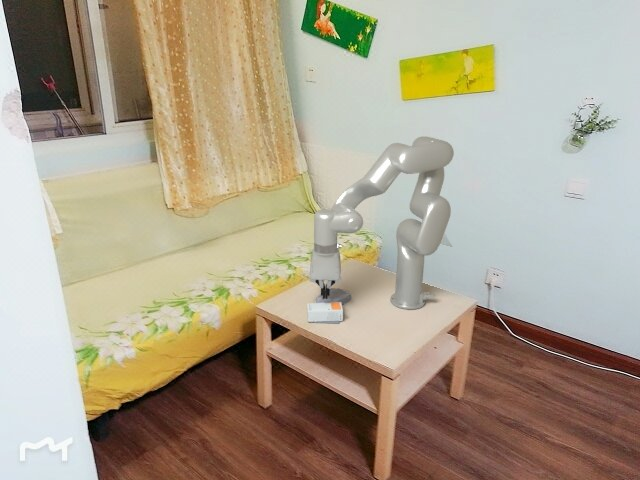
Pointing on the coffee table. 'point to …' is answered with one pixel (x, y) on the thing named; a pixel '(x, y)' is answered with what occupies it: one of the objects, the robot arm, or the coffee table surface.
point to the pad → (329, 322)
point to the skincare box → (324, 312)
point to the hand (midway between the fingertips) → (325, 297)
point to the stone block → (335, 296)
